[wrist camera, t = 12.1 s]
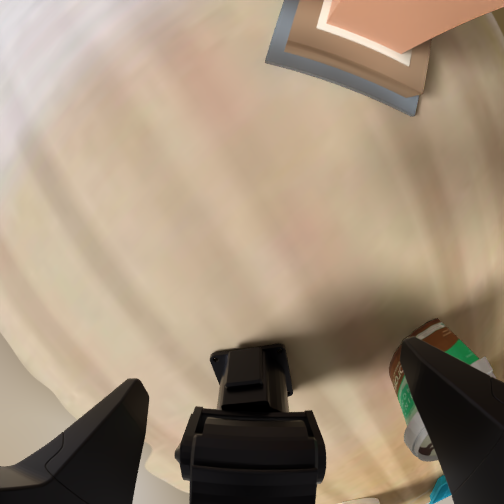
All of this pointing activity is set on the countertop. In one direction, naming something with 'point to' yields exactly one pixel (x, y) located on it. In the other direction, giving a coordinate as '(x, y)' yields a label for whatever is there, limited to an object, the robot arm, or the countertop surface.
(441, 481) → the ice cube tray
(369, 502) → the canister
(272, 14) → the countertop surface
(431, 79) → the countertop surface
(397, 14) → the terracotta block
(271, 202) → the countertop surface
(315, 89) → the countertop surface
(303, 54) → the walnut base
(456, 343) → the food container
